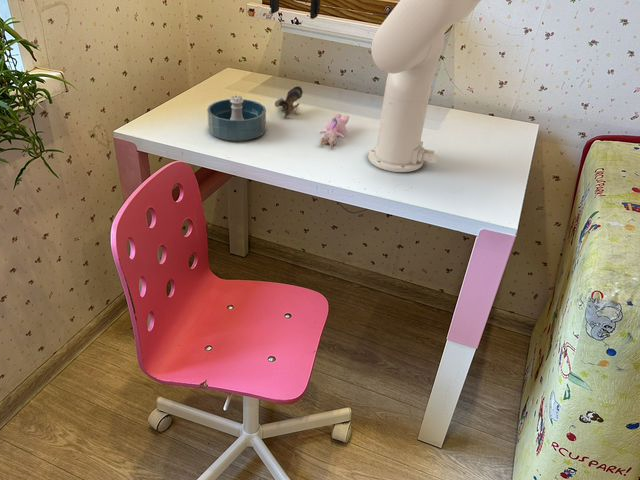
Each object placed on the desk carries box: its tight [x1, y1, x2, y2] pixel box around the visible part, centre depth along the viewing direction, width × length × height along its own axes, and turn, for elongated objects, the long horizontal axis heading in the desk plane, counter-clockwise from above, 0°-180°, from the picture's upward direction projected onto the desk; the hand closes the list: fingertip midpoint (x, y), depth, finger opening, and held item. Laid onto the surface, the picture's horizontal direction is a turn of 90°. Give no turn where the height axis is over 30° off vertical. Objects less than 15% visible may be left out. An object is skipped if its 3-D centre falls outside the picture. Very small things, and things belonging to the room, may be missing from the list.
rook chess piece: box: [230, 94, 244, 120], centre depth 137 cm, size 4×4×8 cm
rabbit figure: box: [319, 113, 350, 149], centre depth 137 cm, size 6×6×15 cm
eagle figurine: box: [274, 86, 304, 119], centre depth 148 cm, size 8×7×9 cm
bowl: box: [206, 98, 267, 142], centre depth 138 cm, size 14×14×6 cm
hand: (294, 14), depth 128 cm, fingers open, 9 cm apart
